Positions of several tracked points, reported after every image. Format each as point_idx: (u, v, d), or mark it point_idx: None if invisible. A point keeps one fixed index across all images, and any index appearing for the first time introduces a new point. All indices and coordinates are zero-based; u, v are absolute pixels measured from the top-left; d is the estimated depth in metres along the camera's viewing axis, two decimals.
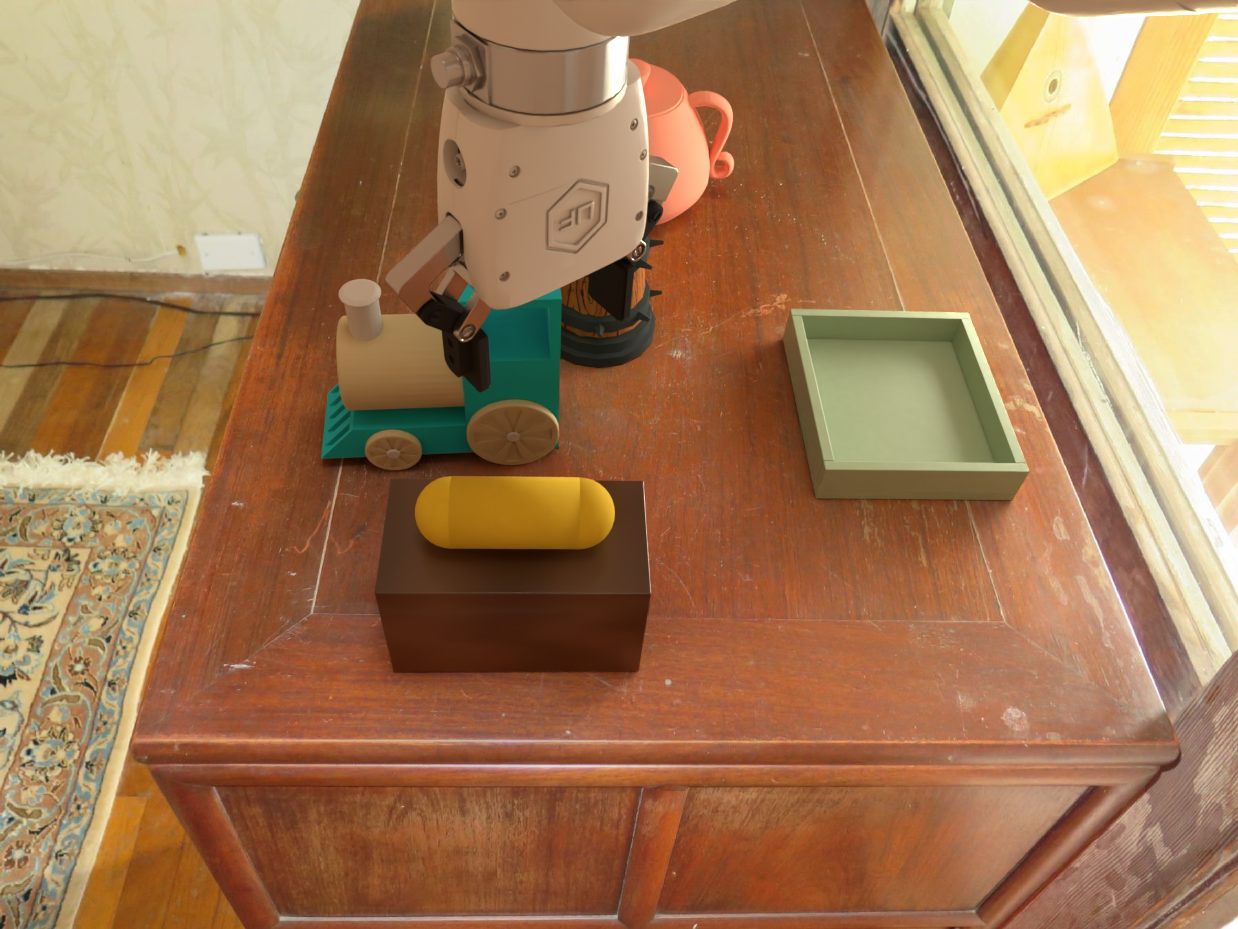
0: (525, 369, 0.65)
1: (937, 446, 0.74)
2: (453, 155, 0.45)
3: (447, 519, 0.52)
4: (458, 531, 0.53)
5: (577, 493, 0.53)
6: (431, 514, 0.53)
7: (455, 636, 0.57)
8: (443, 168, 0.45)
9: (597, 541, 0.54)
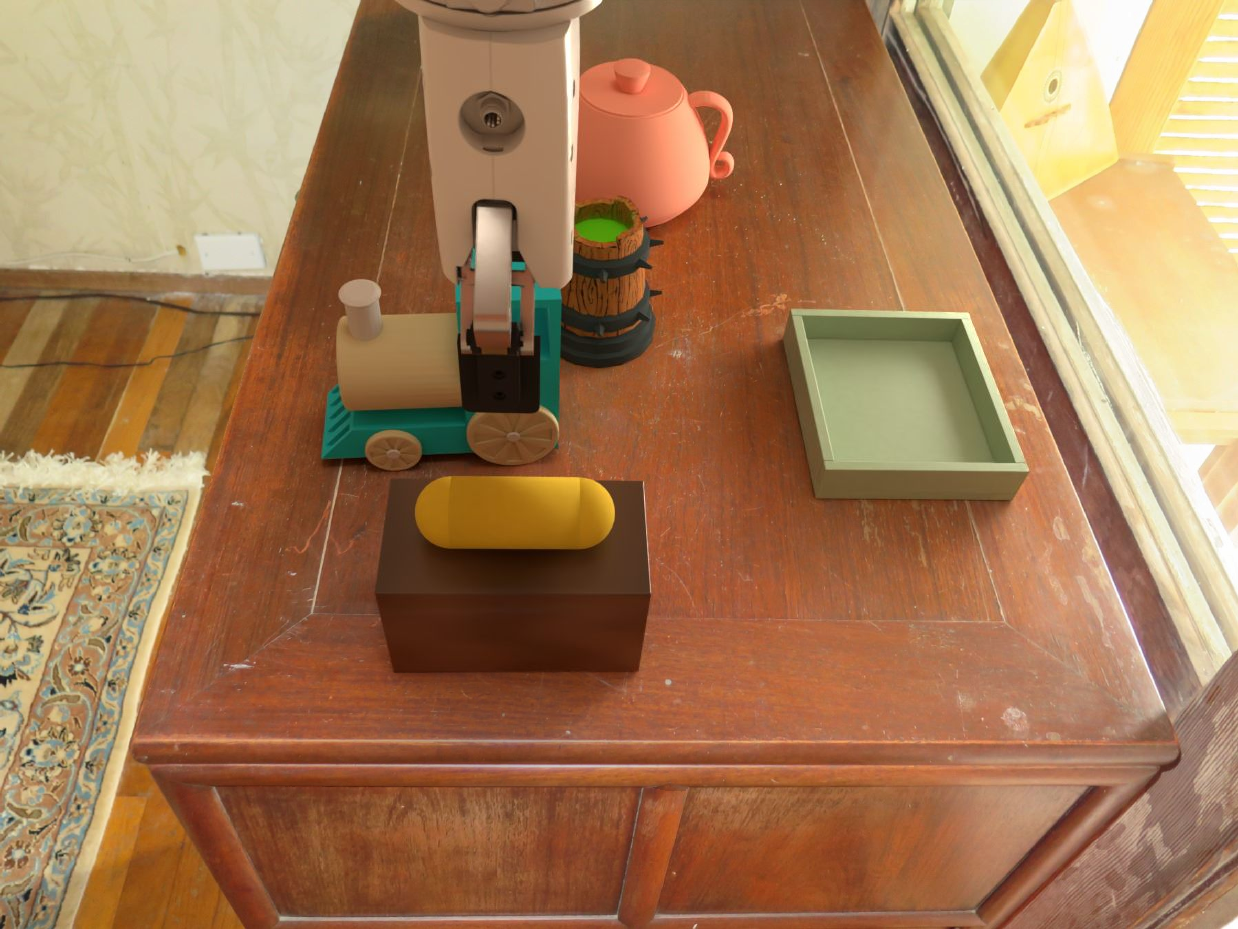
0: None
1: (937, 446, 0.74)
2: (462, 121, 0.32)
3: (447, 519, 0.52)
4: (458, 531, 0.53)
5: (577, 493, 0.53)
6: (431, 514, 0.53)
7: (455, 636, 0.57)
8: (462, 143, 0.32)
9: (597, 541, 0.54)
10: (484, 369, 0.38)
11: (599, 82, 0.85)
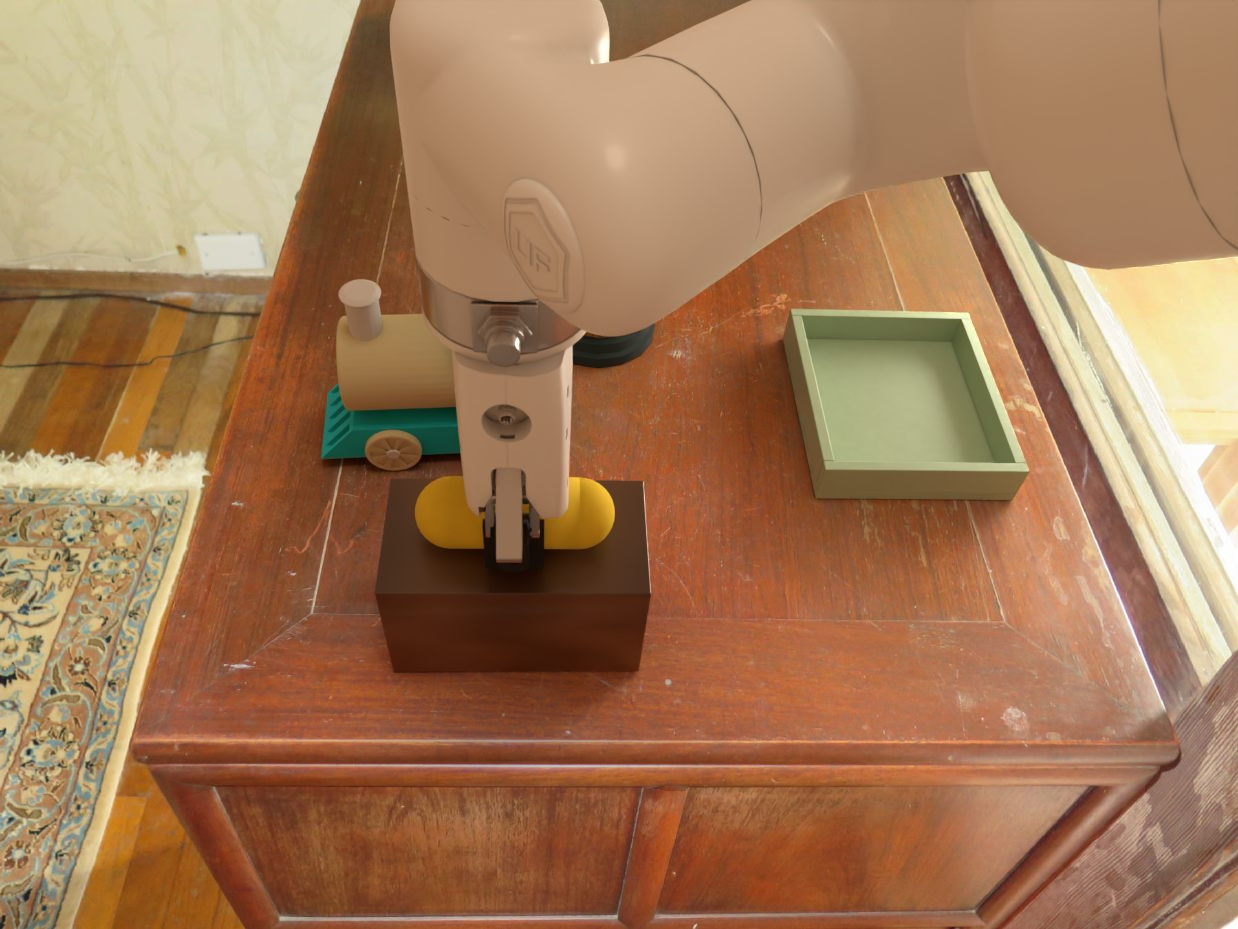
0: None
1: (937, 446, 0.74)
2: (484, 418, 0.42)
3: (447, 519, 0.52)
4: (458, 531, 0.53)
5: (577, 493, 0.53)
6: (431, 514, 0.53)
7: (455, 636, 0.57)
8: (484, 435, 0.42)
9: (597, 541, 0.54)
10: None
11: None
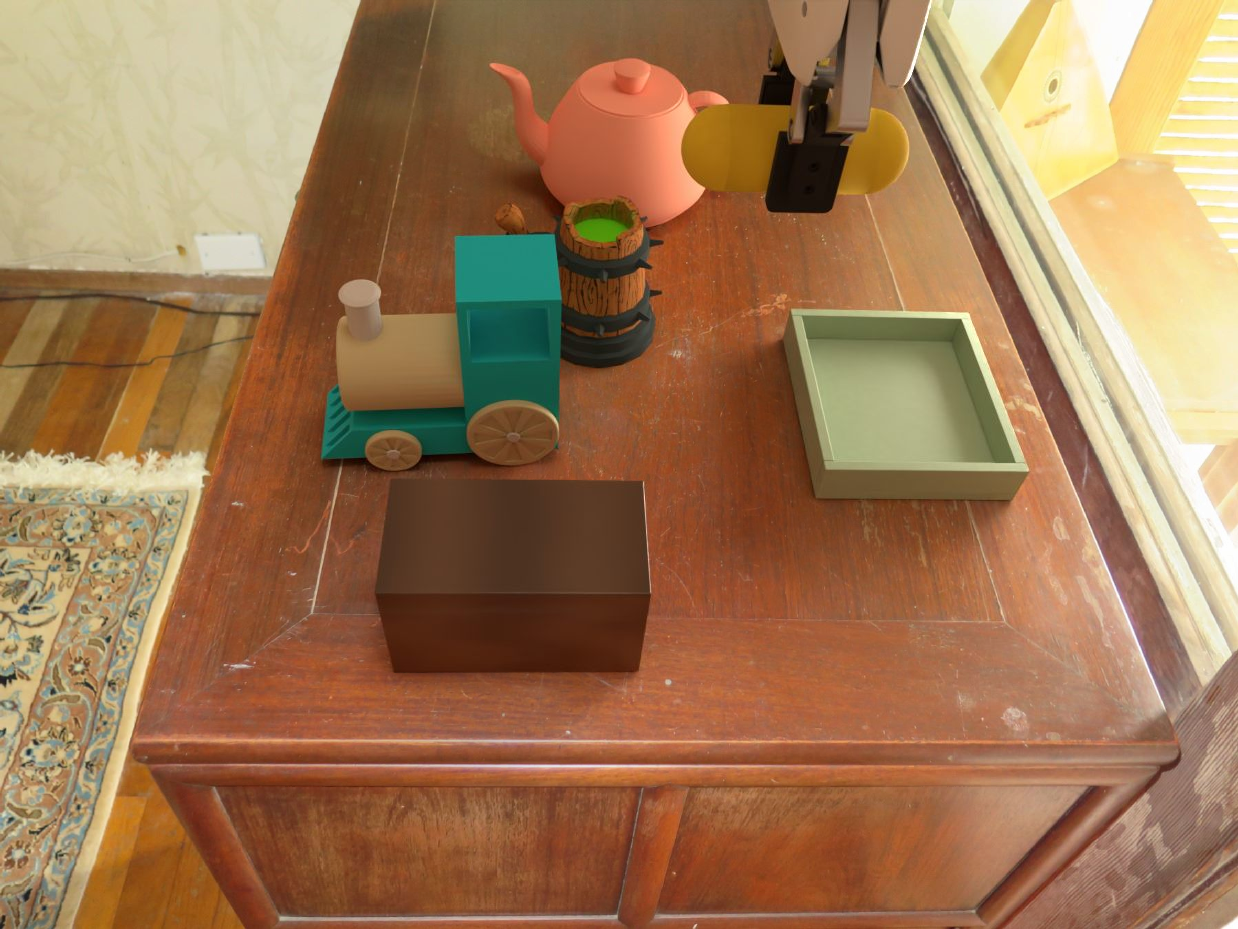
0: (524, 369, 0.64)
1: (937, 446, 0.74)
2: None
3: (730, 140, 0.45)
4: (741, 156, 0.45)
5: (875, 116, 0.46)
6: (710, 136, 0.45)
7: (455, 636, 0.57)
8: None
9: (892, 178, 0.47)
10: (803, 161, 0.44)
11: (599, 82, 0.85)
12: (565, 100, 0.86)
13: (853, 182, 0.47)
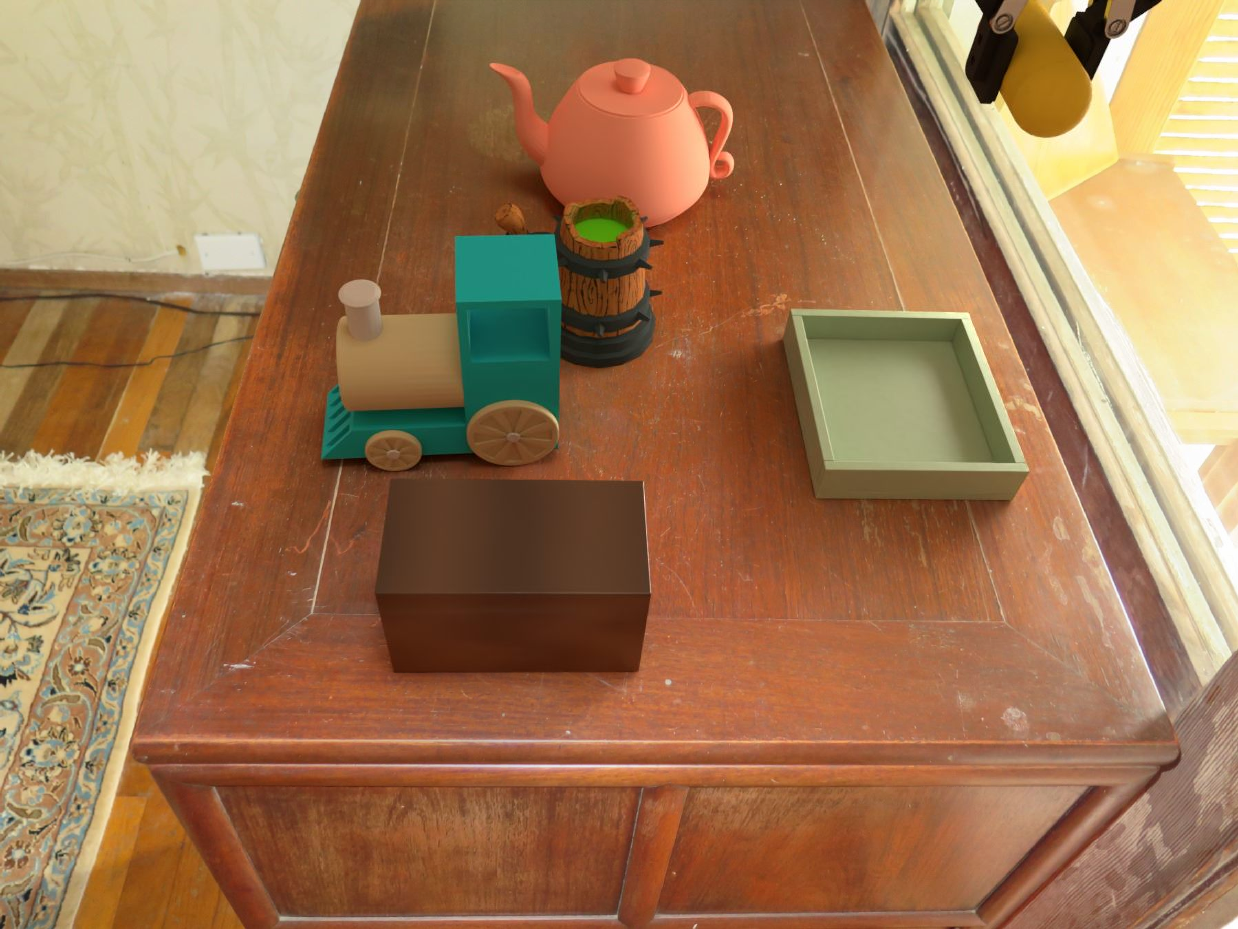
0: (525, 369, 0.64)
1: (937, 446, 0.74)
2: None
3: None
4: None
5: (1062, 61, 0.51)
6: None
7: (455, 636, 0.57)
8: None
9: (1023, 113, 0.52)
10: (979, 29, 0.54)
11: (599, 82, 0.85)
12: (565, 100, 0.86)
13: (1007, 94, 0.53)
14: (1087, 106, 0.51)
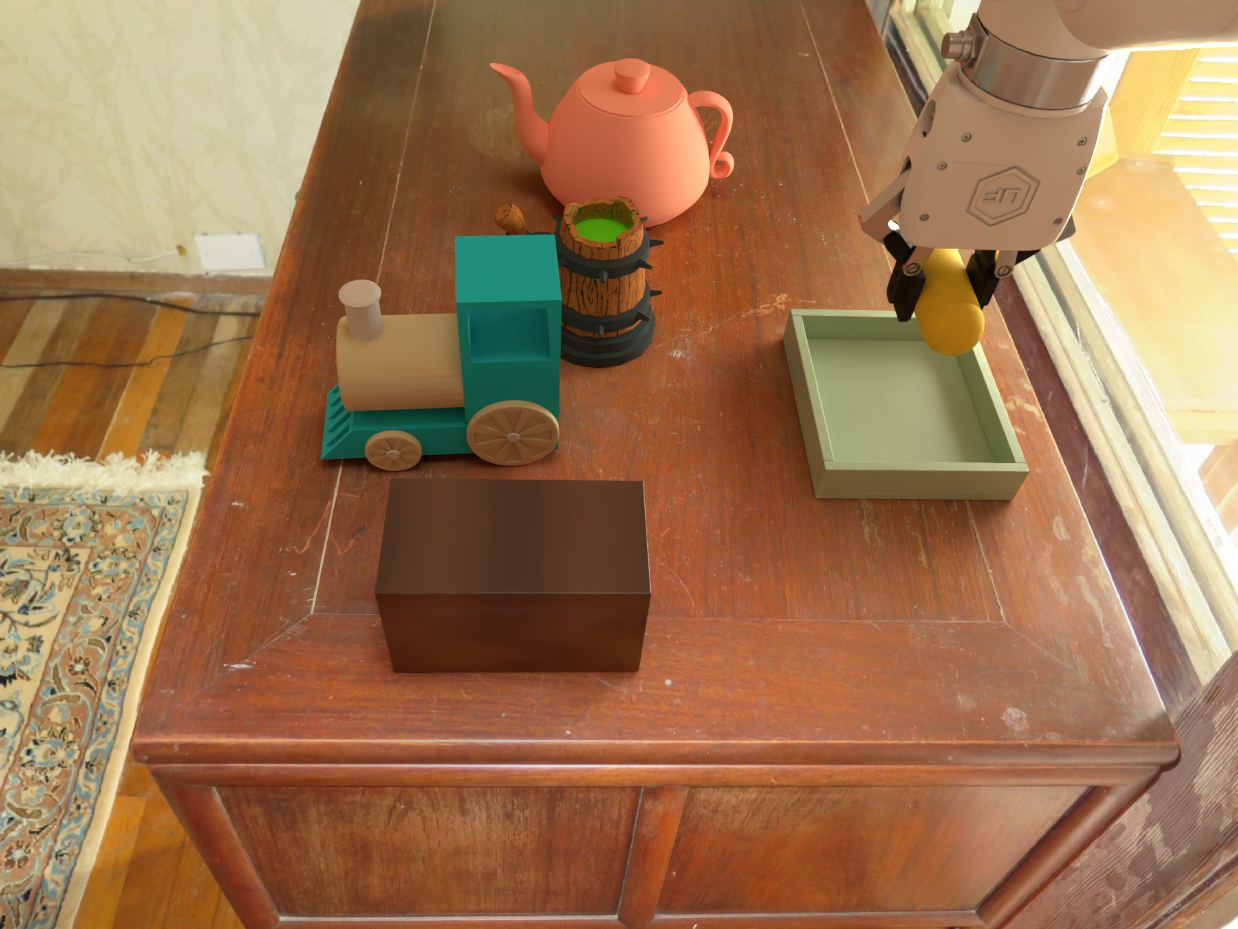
0: (525, 370, 0.64)
1: (937, 446, 0.74)
2: None
3: None
4: None
5: (959, 301, 0.63)
6: None
7: (455, 636, 0.57)
8: (919, 121, 0.58)
9: (929, 339, 0.64)
10: (896, 265, 0.66)
11: (599, 82, 0.85)
12: (565, 100, 0.86)
13: (918, 319, 0.66)
14: (979, 336, 0.64)
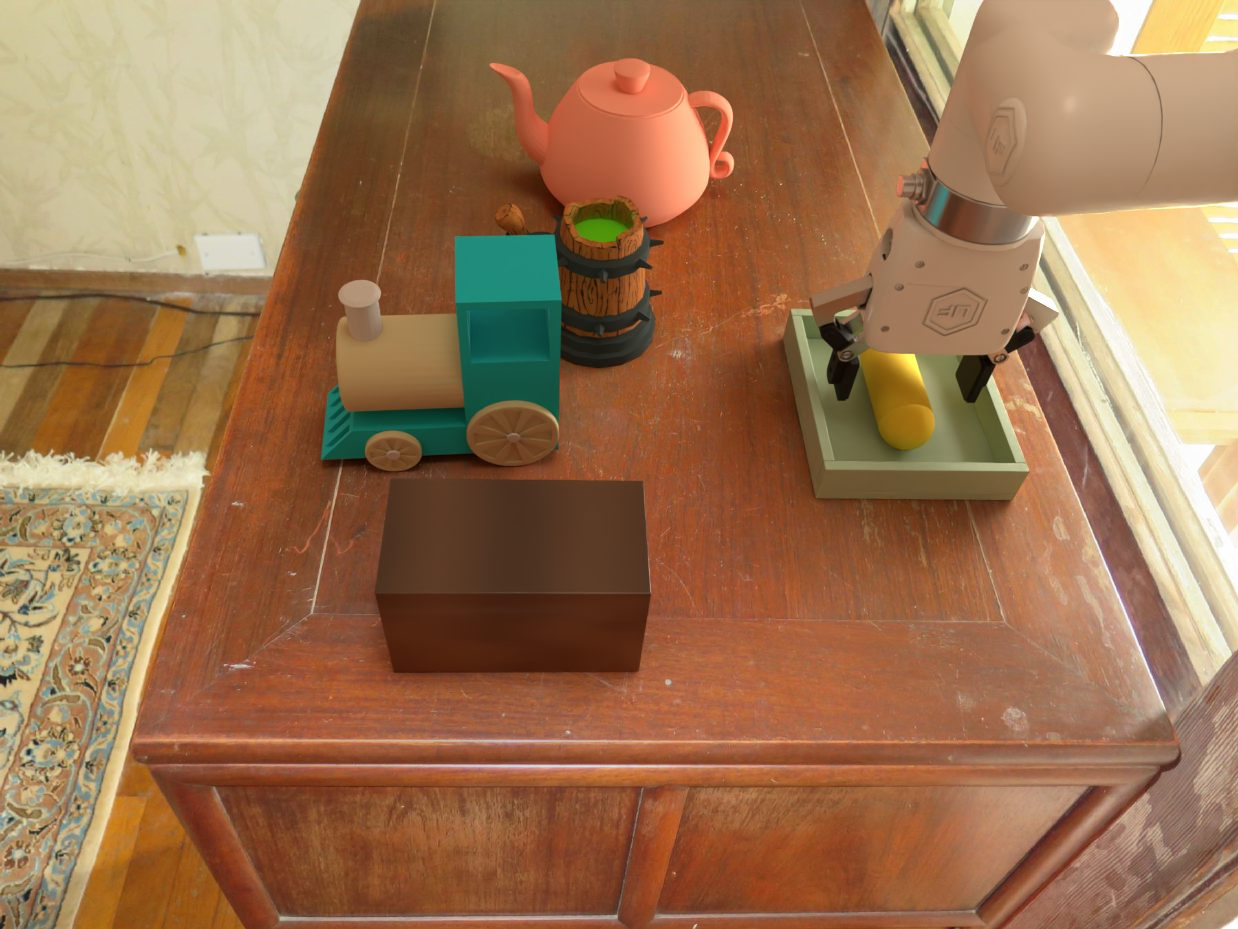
0: (525, 370, 0.64)
1: (937, 446, 0.74)
2: (890, 239, 0.65)
3: None
4: (864, 355, 0.76)
5: (907, 403, 0.71)
6: None
7: (455, 636, 0.57)
8: (880, 244, 0.65)
9: (885, 438, 0.72)
10: (833, 350, 0.72)
11: (598, 82, 0.85)
12: (565, 100, 0.86)
13: (876, 419, 0.73)
14: (929, 432, 0.71)
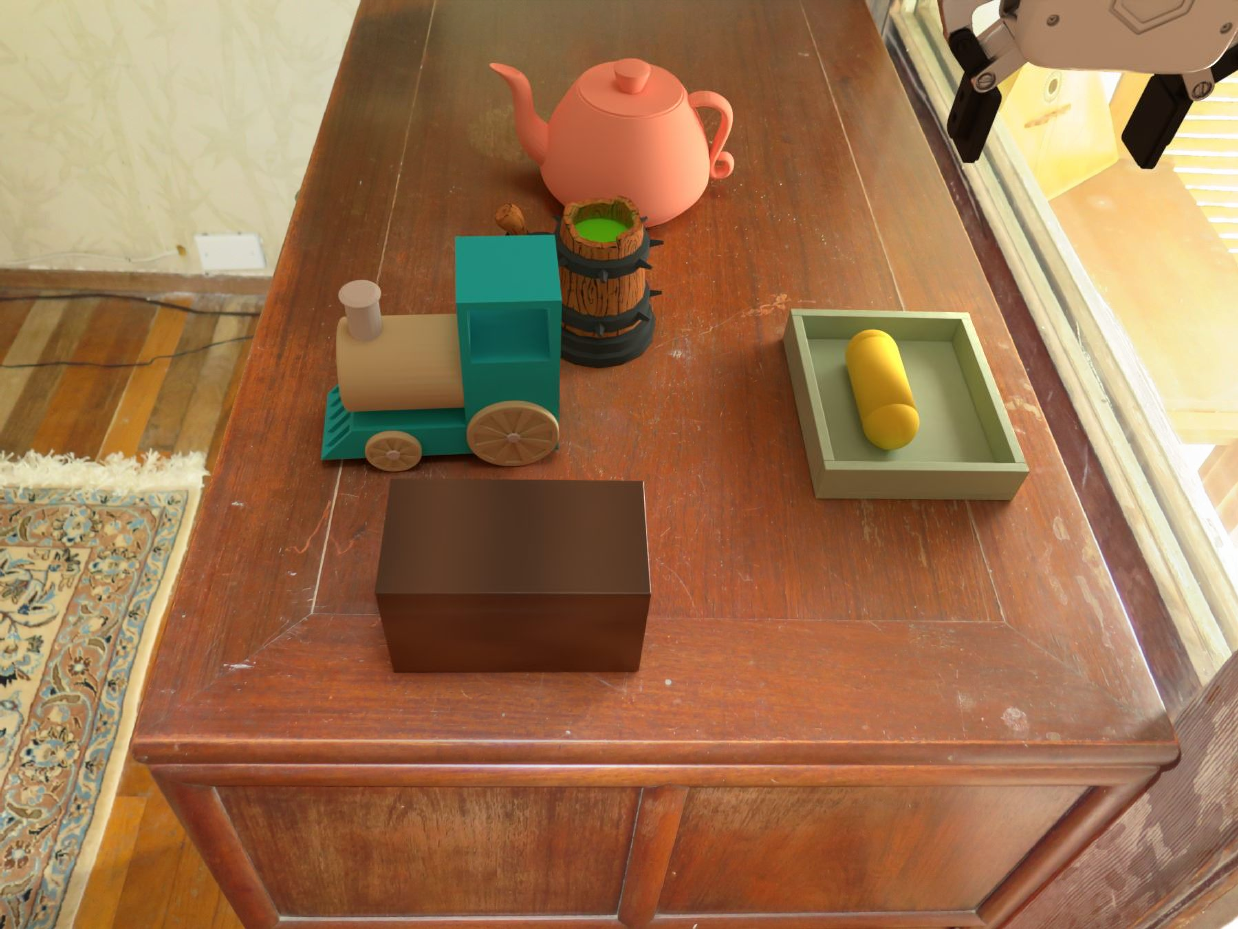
0: (525, 370, 0.64)
1: (937, 446, 0.74)
2: None
3: (846, 354, 0.76)
4: (847, 366, 0.77)
5: (875, 408, 0.71)
6: (848, 345, 0.77)
7: (455, 636, 0.57)
8: None
9: (875, 445, 0.72)
10: (961, 86, 0.51)
11: (599, 82, 0.85)
12: (565, 100, 0.86)
13: None
14: (908, 426, 0.70)
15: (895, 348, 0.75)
